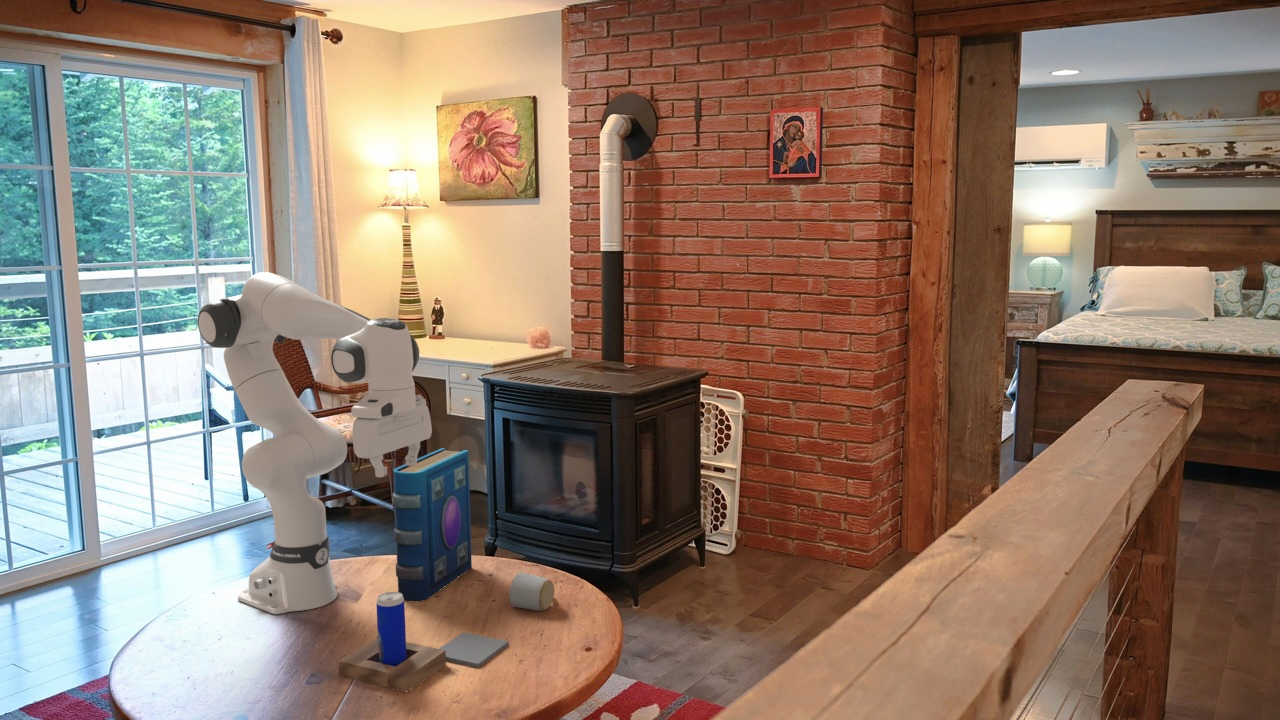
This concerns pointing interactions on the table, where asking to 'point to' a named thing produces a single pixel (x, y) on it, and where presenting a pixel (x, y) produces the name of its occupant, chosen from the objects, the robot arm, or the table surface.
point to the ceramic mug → (531, 592)
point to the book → (432, 523)
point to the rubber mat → (472, 649)
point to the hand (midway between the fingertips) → (396, 470)
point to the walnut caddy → (401, 677)
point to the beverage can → (391, 628)
